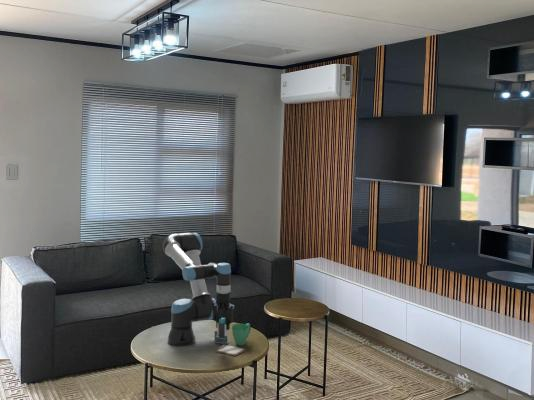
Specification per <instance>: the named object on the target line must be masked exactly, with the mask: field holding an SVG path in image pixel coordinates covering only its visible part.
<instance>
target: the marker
mask: <svg viewBox="0 0 534 400" xmlns="http://www.w3.org/2000/svg"><path fill="white" fill-rule="evenodd" d="M225 324H226V320H225V317H221V318H219V340H226V338H227V339H228V336H227V337H226V336H225Z"/></svg>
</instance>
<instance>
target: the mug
mask: <svg viewBox="0 0 534 400" xmlns="http://www.w3.org/2000/svg"><path fill="white" fill-rule="evenodd" d="M251 326H252V325H251V324H250V323H235V324H233V325H232V326H231V331H232V335H233V340H234V342H235V345H237V346H244V345H245V343H246V341H247V339H248V337H249V334H250V333H251V328H252V327H251Z"/></svg>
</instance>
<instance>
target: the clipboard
mask: <svg viewBox="0 0 534 400" xmlns="http://www.w3.org/2000/svg"><path fill="white" fill-rule="evenodd" d="M246 351H247V349H246V348H242V347H237V346H233V345H229V344H227V345H224V344H222V345H221V346H218V348H217V349H216V350H214V352H215V353H219V354H223V355H226V356H231V357H236V358H237V356H239V355H241V354H242V353H244V352H246Z"/></svg>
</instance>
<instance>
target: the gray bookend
mask: <svg viewBox="0 0 534 400" xmlns="http://www.w3.org/2000/svg"><path fill="white" fill-rule="evenodd" d="M226 337H227V338H226V340H219V335H217V330H215V331H214V340H213V342H212V343H216V344H219V345H229V344H230V343H229V341H228V335H227V336H226Z"/></svg>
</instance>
